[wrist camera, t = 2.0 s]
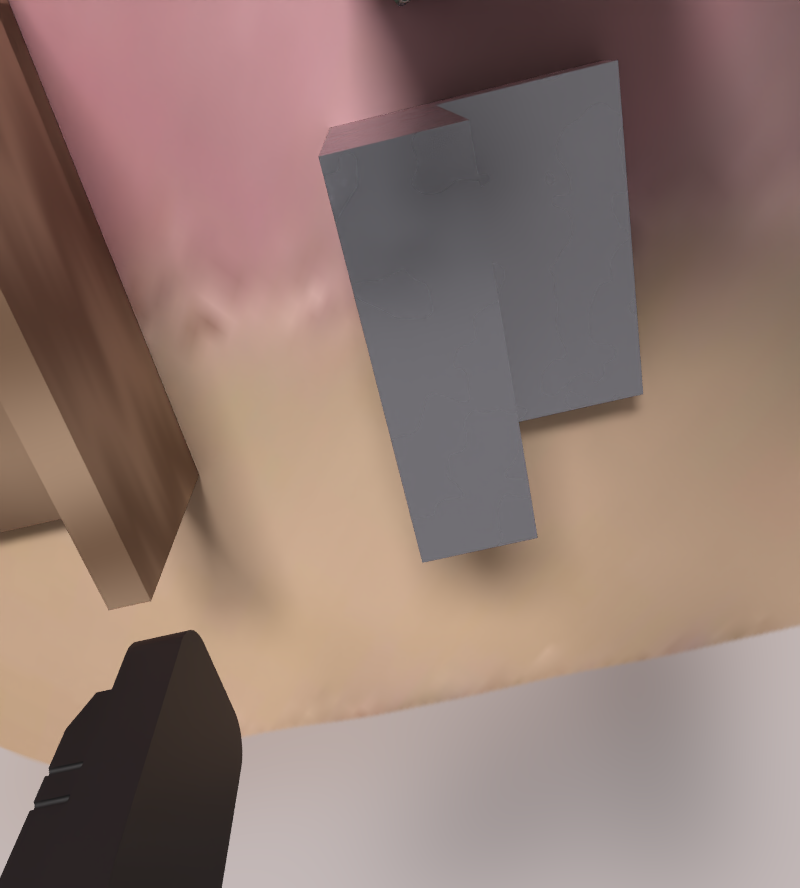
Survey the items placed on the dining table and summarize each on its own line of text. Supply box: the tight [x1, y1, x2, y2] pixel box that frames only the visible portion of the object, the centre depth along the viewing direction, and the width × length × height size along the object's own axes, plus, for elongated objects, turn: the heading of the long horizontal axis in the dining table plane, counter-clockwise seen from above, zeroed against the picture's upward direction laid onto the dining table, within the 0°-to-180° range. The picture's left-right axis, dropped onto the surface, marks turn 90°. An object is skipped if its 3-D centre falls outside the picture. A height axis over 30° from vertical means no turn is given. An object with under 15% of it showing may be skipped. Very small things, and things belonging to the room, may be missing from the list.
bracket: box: [319, 60, 643, 563], centre depth 20 cm, size 10×8×8 cm
